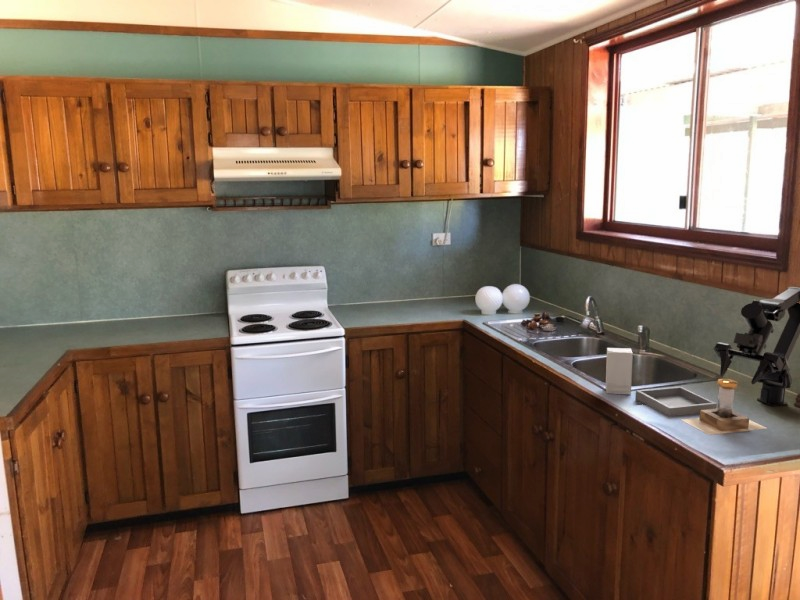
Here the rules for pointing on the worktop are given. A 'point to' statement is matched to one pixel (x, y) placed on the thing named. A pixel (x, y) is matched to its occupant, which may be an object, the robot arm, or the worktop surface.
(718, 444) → the worktop surface
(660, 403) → the tray
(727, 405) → the pin
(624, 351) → the skincare box
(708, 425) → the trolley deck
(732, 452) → the worktop surface
